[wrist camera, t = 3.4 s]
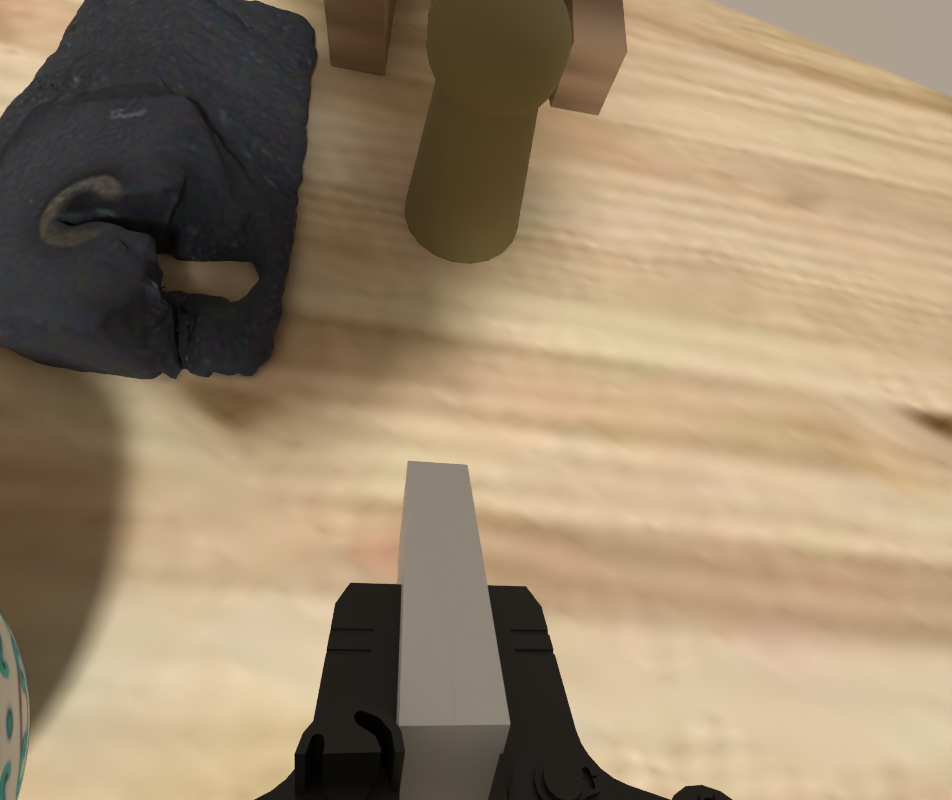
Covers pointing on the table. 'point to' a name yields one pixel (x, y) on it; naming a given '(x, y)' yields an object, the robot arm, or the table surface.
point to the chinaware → (12, 715)
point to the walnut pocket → (582, 83)
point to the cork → (482, 120)
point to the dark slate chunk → (153, 185)
